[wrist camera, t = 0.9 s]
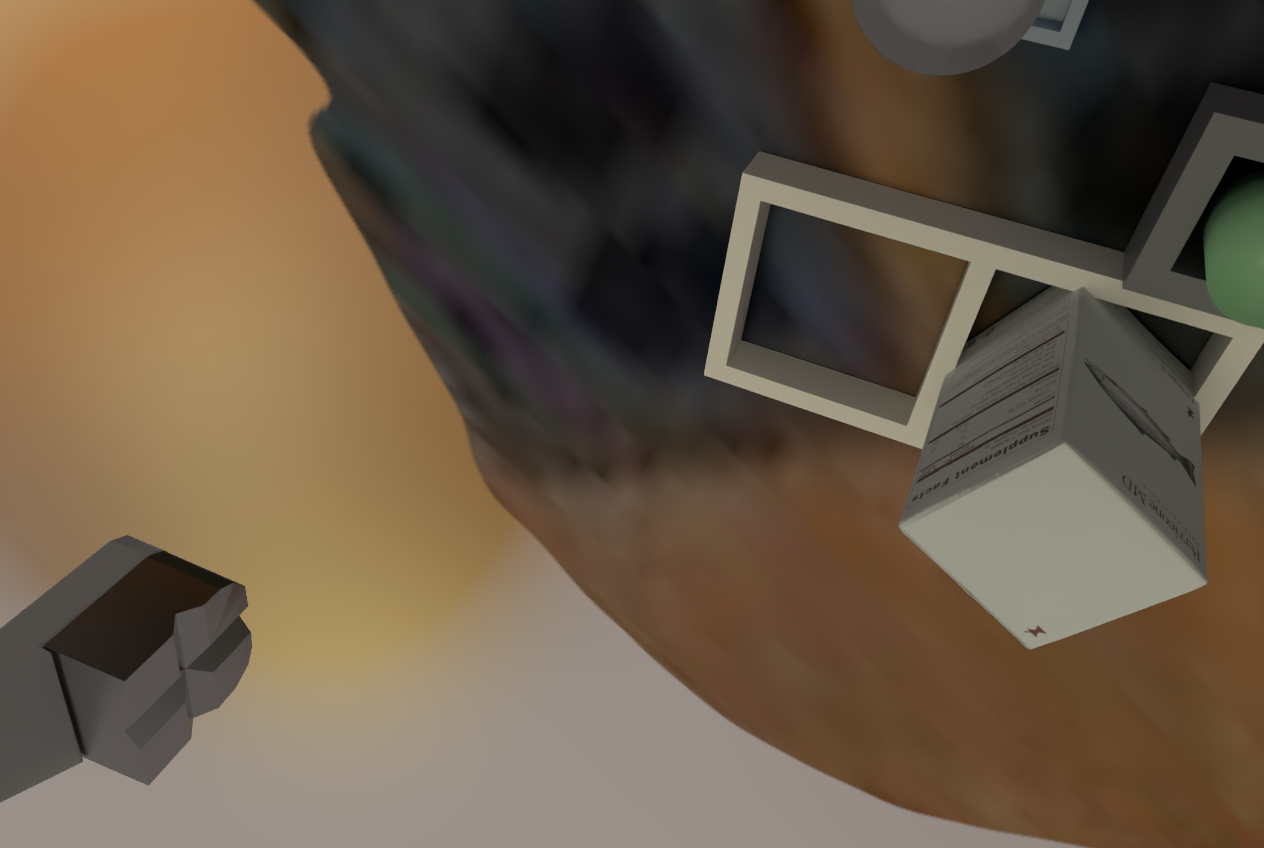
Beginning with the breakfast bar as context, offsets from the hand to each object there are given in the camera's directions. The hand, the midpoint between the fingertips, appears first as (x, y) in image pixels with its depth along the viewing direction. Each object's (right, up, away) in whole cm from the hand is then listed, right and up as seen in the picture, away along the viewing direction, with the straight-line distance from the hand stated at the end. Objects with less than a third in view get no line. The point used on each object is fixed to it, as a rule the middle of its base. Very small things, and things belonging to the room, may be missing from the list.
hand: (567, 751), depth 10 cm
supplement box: (+20, +6, +32) cm, 38 cm away
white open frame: (+15, +8, +33) cm, 37 cm away
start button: (+23, +11, +24) cm, 35 cm away
